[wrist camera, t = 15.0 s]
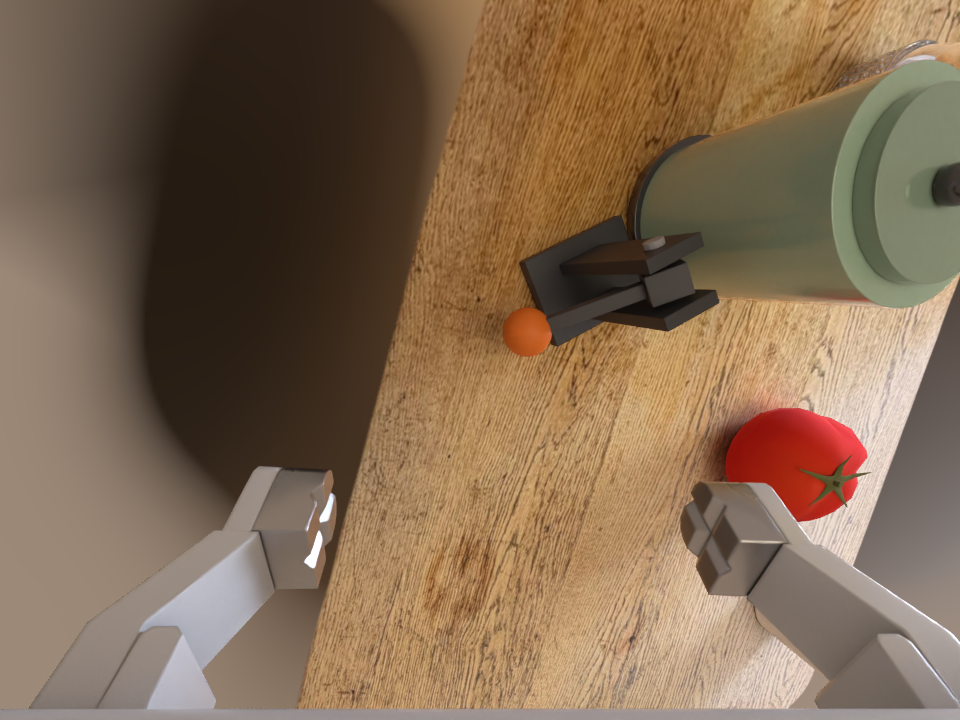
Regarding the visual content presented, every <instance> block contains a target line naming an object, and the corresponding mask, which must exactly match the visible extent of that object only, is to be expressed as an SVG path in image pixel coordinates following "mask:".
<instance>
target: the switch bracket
mask: <svg viewBox="0 0 960 720" xmlns="http://www.w3.org/2000/svg"><path fill="white" fill-rule="evenodd" d="M702 247H704V243H703V239H702V235H701V232H694V233H686V234H678V235H670V236H658V237H654V238H646V239H638V240H630V241H629V238H628V235H627V232H626V228H625V225H624V222H623V219H622V216H621V215H619V216H614V217H612V218H610V219H608V220H605V221H603V222H601V223H599V224H597V225H595V226H593V227H591V228H589V229H587V230H585V231H583V232H581V233H579V234H577V235H574V236H572V237H570V238H568V239H566V240H564V241H562V242H560V243H558V244H556V245H554V246H552V247H550V248H548V249H546V250H543V251H541V252H539V253H537V254H535V255H533V256H531V257H529V258H527V259H525V260H523V261H521V262H520V265H521V268H522V270H523V273H524V275H525V278H526V281H527V283H528V286H529V288H530V291H531V293H532V296H533V298H534V301H535V303H536V306H537V308H538V310H539V311H541V312H543V313H544V314H545V315H546V316H547V315H550V314H553V313H555V312H558V311H561V310H564V309H566V308H569V307H572V306H574V305H577V304H580V303H583V302H585V301H588V300H591V299H593V298H596V297H599V296H602V295H604V294H607V293H610V292H612V291H615V290H618V289H621V288H623V287H626V286H629V285H631V284H634V283H637V282H640V279H639V276H638V275H643V274H652V273H654V272H656V271H658V270H660V269H662V268H664V267H666V266H668V265H669V264H671V263H673V262H675V261H677V260H679V259H681V258H683V257H685V256H687V255H689V254H690V253H692V252H694V251H696V250H698V249H700V248H702ZM718 303H719V299H718V295H717V291H716V290H709V289H695V293H694V294H692V295H689V296H686V297H683V298H680V299H677V300H674V301H672V302H669V303H666V304H663V305H660V306H657V307H654V308H653V307H652V306H651V305H650V303H649V302H648V301H647V300H646V299H645V300H642V301H639V302H636V303H633V304H631V305H628V306H625V307H622V308H619V309H617V310H614V311H611V312H608V313H605V314H603V315H600V316H597V317H594V318H591V319H589V320H586V321H583V322H580V323H577V324H575V325H572V326H569V327H566V328H563V329H561V330H558V331H555V332H552V337H551V340H550V341H551V344H552V345H555V346H559V345H561V344H563V343H565V342H567V341H569V340H571V339H572V338H574V337H576V336H578V335H580V334H582V333H584V332H586V331H587V330H589V329H591V328H593V327H595V326H597V325H599V324H600V323H602V322H604V321H605V322H612V323H618V324H624V325H630V326H637V327H643V328H649V329H655V330H662V331H670V330H672V329H674V328H675V327H677V326H679V325H681V324H683V323H684V322H686V321H688V320H690V319H691V318H693V317H695V316H697V315H699V314H700V313H702V312H704V311H706V310H708V309H709V308H711V307H713V306H715V305H716V304H718Z"/></svg>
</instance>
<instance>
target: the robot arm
mask: <svg viewBox="0 0 960 720" xmlns="http://www.w3.org/2000/svg"><path fill="white" fill-rule="evenodd" d="M333 483H334V482H333V475H332V471H330V470H322V469H304V468H287V467H283V468H280V467H262V466H259V467H258V468H256V469H255V470H254V471H253V472H252V474H251V476H250V478H249V480H248V482H247V484H246V485H245V487H244V489H243V491H242V493H241V495H240V497H239V499H238V501H237V503H236V505H235V506H234V508H233V510H232V513H231V514H230V516H229V518H228V520H227V522H226V524H225V526H224V527H223V529H222V531H213V532H212V533H210V534H209V535H207V536H206V537H205V538H203V539H202V540H201V541H199V542H198V543H196V544H195V545H194V546H192V547H191V548H190V549H188V550H187V551H185V552H184V553H182V554H181V555H180V556H179V557H177V558H176V559H174V560H173V561H171V562H170V563H169V564H167V565H166V566H165V567H163V568H162V569H160V570H159V571H158V572H156V573H155V574H153V575H152V576H151V577H149V578H148V579H147V580H145V581H144V582H142V583H141V584H140V585H138V586H137V587H136V588H134V589H133V590H132V591H130V592H129V593H127V594H126V595H124V596H123V597H122V598H120V599H119V600H117V601H116V602H115V603H113V604H112V605H111V606H109V607H108V608H106V609H105V610H104V611H102V612H101V613H100V614H98V615H97V616H95V617H94V618H93V619H91V620H90V621H88V622H87V624H86V625H85V626H84V628H83V629H82V631H81V632H80V634H79V635H78V637H77V638H76V640H75V641H74V643H73V644H72V645H71V647H70V648H69V650H68V651H67V653H66V654H65V656H64V657H63V659H62V660H61V662H60V663H59V665H58V666H57V667H56V669H55V671H54V672H53V673H52V675H51V676H50V678H49V679H48V681H47V682H46V684H45V685H44V686H43V688H42V689H41V691H40V692H39V694H38V695H37V697H36V698H35V700H34V701H33V703H32V704H31V706H30V707H29V709H0V720H960V642H959V641H958V640H957V638H956V637H955V636H954V635H953V634H952V633H951V632H950V631H948V630H947V629H945V628H944V627H942V626H941V625H939V624H938V623H936V622H935V621H933V620H932V619H930V618H929V617H927V616H926V615H924V614H923V613H921V612H920V611H918V610H917V609H915V608H914V607H912V606H911V605H909V604H908V603H906V602H905V601H904V600H902V599H901V598H899V597H898V596H896V595H895V594H893V593H892V592H890V591H889V590H887V589H886V588H884V587H882V586H881V585H880V584H878V583H877V582H875V581H874V580H872V579H871V578H869V577H868V576H866V575H865V574H863V573H862V572H860V571H859V570H857V569H856V568H854V567H853V566H851V565H850V564H848V563H847V562H846V561H844V560H843V559H841V558H840V557H838V556H837V555H835V554H834V553H832V552H831V551H829V550H828V549H826V548H825V547H823V546H822V545H814V544H813V543H812V541H811V540H810V539H809V537H808V536H807V534H806V533H805V532H804V530H803V529H802V528H801V526H800V525H799V524H798V522H797V521H796V519H795V518H794V517H793V515H792V514H791V513H790V511H789V510H788V509H787V507H786V506H785V505H784V503H783V502H782V500H781V499H780V498H779V496H778V495H777V494H776V492H775V491H774V490H773V488H772V487H771V486H769V485H768V484H766V483H745V482H744V483H740V482H703V481H700V482H698V483H697V484H696V485H695V486H694V488H693V490H692V492H691V494H692V496H693V498H694V500H693V501H692V502H690V503H689V504H687V505H686V506H685V507H684V509H683V512H682V514H681V524H680V529H681V533H682V537H683V540H684V542H685V544H686V547H687V549H689V550H690V551H691V552H692V553H693V554H695V555H696V556H697V557H698V560H697V563H696V568H697V571H698V573H699V575H700V577H701V579H702V581H703V583H704V585H705V588H706V590H707V592H708V594H709V595H725V596H747V599H748V600H749V601H750V602H751V603H752V604H753V605H754V606H755V607H756V608H757V609H758V610H759V611H760V612H761V613H762V614H763V615H764V616H765V617H766V618H767V619H768V620H769V621H770V622H771V623H772V624H773V625H774V626H775V627H776V628H777V629H778V630H779V631H780V632H781V633H782V634H783V635H784V636H785V637H786V638H787V639H788V640H789V641H790V642H791V643H792V644H793V645H794V646H795V647H796V648H797V649H798V650H799V651H800V652H801V653H802V654H803V655H804V656H805V657H806V658H807V659H808V660H809V661H810V662H811V663H812V664H813V665H814V666H815V667H816V668H817V669H818V670H819V671H820V672H821V673H822V674H823V675H825V676H826V677H827V678H828V679H829V680H830V682H829V683H828V684H827V685H826V686H825V687H824V688H823V689H822V690H821V691H820V692H819V693H818V694H817V696H816V698H815V703H816V705H817V706H818V708H819V709H213V708H214V706H215V703H216V699H215V697H214V695H213V693H212V691H211V689H210V687H209V685H208V683H207V681H206V679H205V677H204V675H203V673H202V670H203V669H204V668H205V667H206V665H207V664H208V663H209V662H210V661H211V660H212V659H213V658H214V657H215V656H216V655H217V654H218V652H219V651H220V650H221V649H222V648H223V647H224V646H225V645H226V644H227V643H228V642H229V641H230V640H231V638H232V637H233V636H234V635H235V634H236V633H237V632H238V631H239V630H240V629H241V628H242V627H243V626H244V624H245V623H246V622H247V621H248V620H249V619H250V618H251V617H252V616H253V615H254V614H255V613H256V612H257V610H258V609H259V608H260V607H261V606H262V605H263V604H264V603H265V602H266V601H267V600H268V599H269V597H270V596H271V595H272V594H273V593H274V592H275V589H314V588H315V589H317V588H318V585H319V582H320V578H321V575H322V571H323V568H324V564H325V561H326V556H325V549H324V546H325V545H327V543H329V542H330V541H331V539H332V535H333V532H334V527H335V521H336V496H335V495H333V494H332V493H331V489H332V486H333Z"/></svg>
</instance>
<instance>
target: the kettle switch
mask: <svg viewBox="0 0 960 720" xmlns="http://www.w3.org/2000/svg"><path fill="white" fill-rule="evenodd" d="M638 276H639V279H640V282H637V283H634V284H631V285H629V286H626V287H623V288H621V289H618V290H615V291H612V292H610V293H607V294H604V295H602V296H599V297H596V298H593V299H591V300H588V301H585V302H583V303H580V304H577V305H574V306H572V307H569V308H566V309H564V310H561V311H558V312H555V313H553V314H550V315H547V316H546V315H545V314H544V313H543V312H541V311H539V310H537V309H535V308H529V307H526V308H520V309H518V310H516V311H514V312H513V313H511V314H510V315H509V316H508V318H507V319H506V321H505V323H504V326H503V338H504V341H505V343H506V345H507V347H508V348H509V349H510V350H511V351H512V352H514V353H515V354H517V355H520V356H525V357H529V356H534V355H537V354H539V353H541V352H542V351H544V350H545V349H546V347H547V346H548V345H549V343H550V340H551V337H552V332H555V331H558V330H561V329H563V328H566V327H569V326H572V325H575V324H577V323H580V322H583V321H586V320H589V319H591V318H594V317H597V316H600V315H603V314H605V313H608V312H611V311H614V310H617V309H619V308H622V307H625V306H628V305H631V304H633V303H636V302H639V301H642V300H645V299H646V300H647V301H648V302H649V303H650V305H651V306H652V307H653V308H654V307H657V306H660V305H663V304H666V303H669V302H672V301H674V300H677V299H680V298H683V297H686V296H689V295H692V294H694V293H695V289H694V285H693V282H692V278H691V275H690V271H689V268H688V264H687V262H685V261H684V260H682V259H679V260H677V261H675V262H673V263H671V264H669V265H668V266H666V267H664V268H662V269H660V270H658V271H656V272H654V273H652V274H643V275H638Z"/></svg>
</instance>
